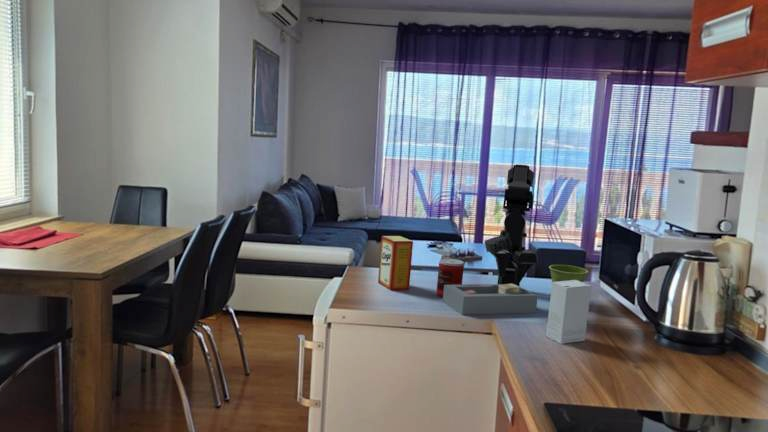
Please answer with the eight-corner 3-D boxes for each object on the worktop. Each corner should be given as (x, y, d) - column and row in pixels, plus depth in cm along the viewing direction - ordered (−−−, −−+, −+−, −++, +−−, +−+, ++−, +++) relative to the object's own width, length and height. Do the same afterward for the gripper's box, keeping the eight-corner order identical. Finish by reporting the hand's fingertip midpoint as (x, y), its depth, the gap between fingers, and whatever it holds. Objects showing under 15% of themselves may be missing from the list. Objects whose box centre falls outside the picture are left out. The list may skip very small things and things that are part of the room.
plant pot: (548, 296, 199) (552, 262, 198) (586, 303, 194) (590, 268, 193) (541, 304, 188) (545, 268, 187) (581, 311, 183) (585, 274, 182)
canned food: (460, 293, 193) (463, 259, 192) (461, 300, 185) (464, 264, 184) (436, 291, 194) (439, 257, 193) (436, 297, 186) (439, 262, 185)
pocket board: (512, 300, 190) (514, 284, 189) (535, 312, 178) (537, 295, 177) (442, 301, 182) (444, 284, 181) (462, 314, 170) (463, 296, 169)
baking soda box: (378, 282, 199) (381, 234, 197) (395, 282, 202) (399, 234, 200) (390, 290, 191) (394, 240, 189) (408, 289, 193) (413, 240, 191)
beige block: (512, 291, 184) (512, 283, 184) (519, 295, 180) (519, 286, 180) (498, 293, 183) (498, 285, 182) (505, 297, 179) (505, 288, 179)
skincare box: (569, 334, 159) (576, 279, 158) (586, 342, 154) (593, 285, 152) (544, 336, 156) (550, 280, 154) (560, 344, 150) (567, 286, 148)
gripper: (475, 222, 185) (470, 272, 187) (506, 233, 168) (501, 288, 170) (507, 223, 189) (502, 272, 191) (541, 234, 171) (535, 288, 173)
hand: (508, 280), depth 181 cm, fingers open, 9 cm apart
